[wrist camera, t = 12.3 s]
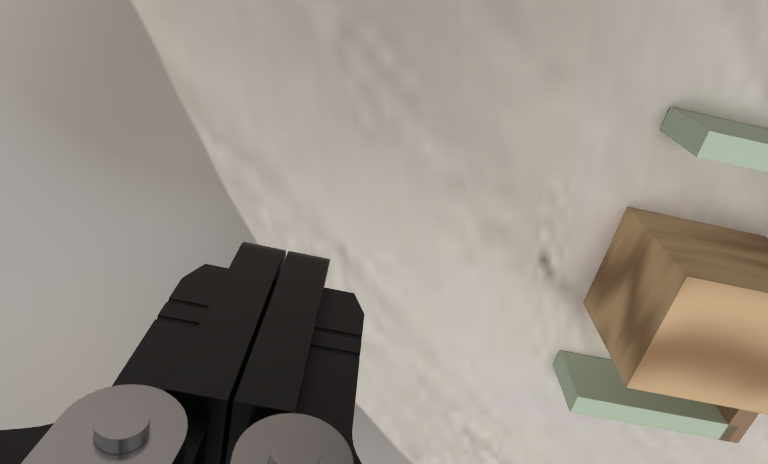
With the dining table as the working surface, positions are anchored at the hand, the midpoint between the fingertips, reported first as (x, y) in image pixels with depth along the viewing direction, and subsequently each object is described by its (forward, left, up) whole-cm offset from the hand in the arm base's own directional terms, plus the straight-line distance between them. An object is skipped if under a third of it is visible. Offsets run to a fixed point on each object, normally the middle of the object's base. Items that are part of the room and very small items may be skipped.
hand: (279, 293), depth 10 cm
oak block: (+11, +24, -27) cm, 38 cm away
